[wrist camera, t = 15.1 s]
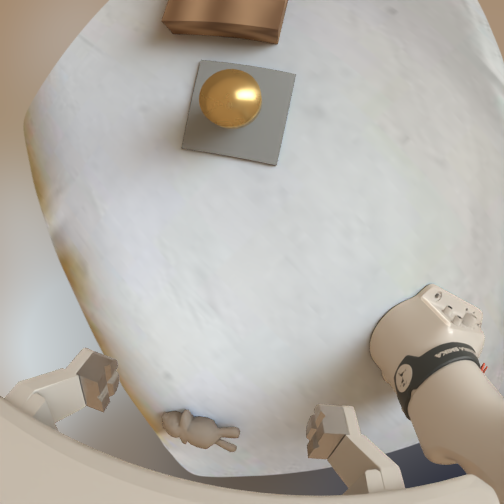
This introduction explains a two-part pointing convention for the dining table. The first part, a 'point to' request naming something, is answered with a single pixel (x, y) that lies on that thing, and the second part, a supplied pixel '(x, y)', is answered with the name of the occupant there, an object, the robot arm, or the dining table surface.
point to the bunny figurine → (198, 430)
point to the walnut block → (227, 18)
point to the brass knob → (231, 99)
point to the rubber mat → (253, 135)
